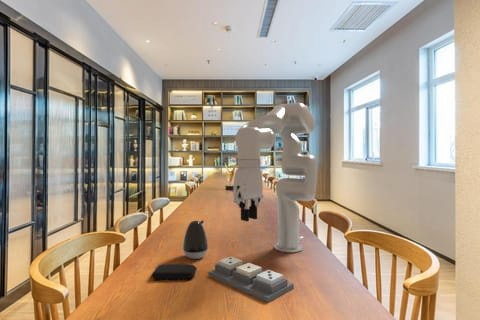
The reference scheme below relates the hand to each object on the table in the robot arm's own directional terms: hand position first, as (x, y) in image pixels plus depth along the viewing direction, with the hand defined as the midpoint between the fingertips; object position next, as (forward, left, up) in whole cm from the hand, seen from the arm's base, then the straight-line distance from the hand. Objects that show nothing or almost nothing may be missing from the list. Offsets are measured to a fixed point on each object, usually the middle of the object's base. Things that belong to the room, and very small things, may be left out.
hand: (248, 219), depth 102 cm
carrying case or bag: (+14, -23, -22) cm, 35 cm away
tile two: (0, -9, -18) cm, 20 cm away
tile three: (0, +9, -18) cm, 20 cm away
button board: (0, 0, -21) cm, 21 cm away
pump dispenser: (-2, -32, -21) cm, 39 cm away
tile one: (0, 0, -18) cm, 18 cm away
